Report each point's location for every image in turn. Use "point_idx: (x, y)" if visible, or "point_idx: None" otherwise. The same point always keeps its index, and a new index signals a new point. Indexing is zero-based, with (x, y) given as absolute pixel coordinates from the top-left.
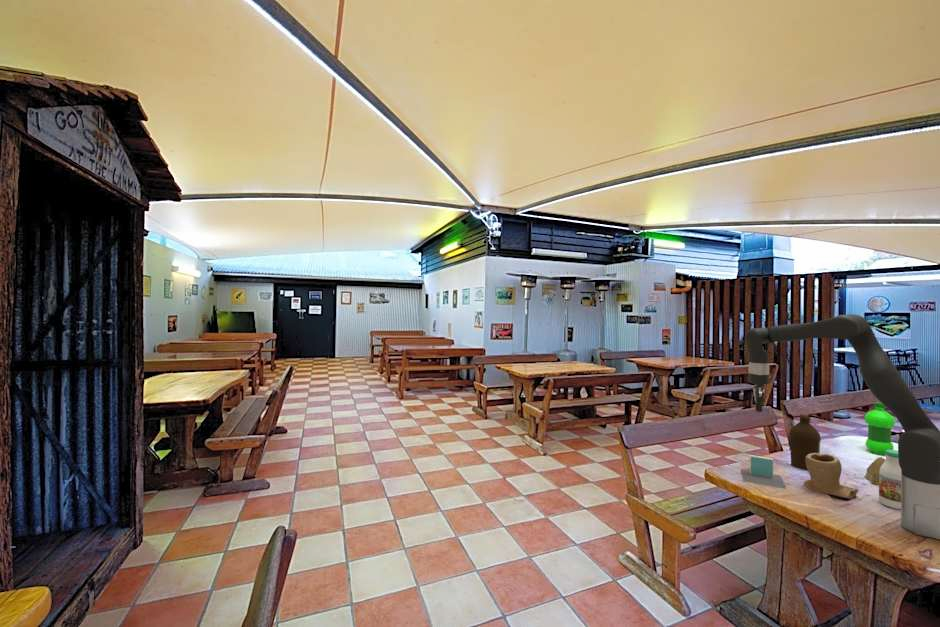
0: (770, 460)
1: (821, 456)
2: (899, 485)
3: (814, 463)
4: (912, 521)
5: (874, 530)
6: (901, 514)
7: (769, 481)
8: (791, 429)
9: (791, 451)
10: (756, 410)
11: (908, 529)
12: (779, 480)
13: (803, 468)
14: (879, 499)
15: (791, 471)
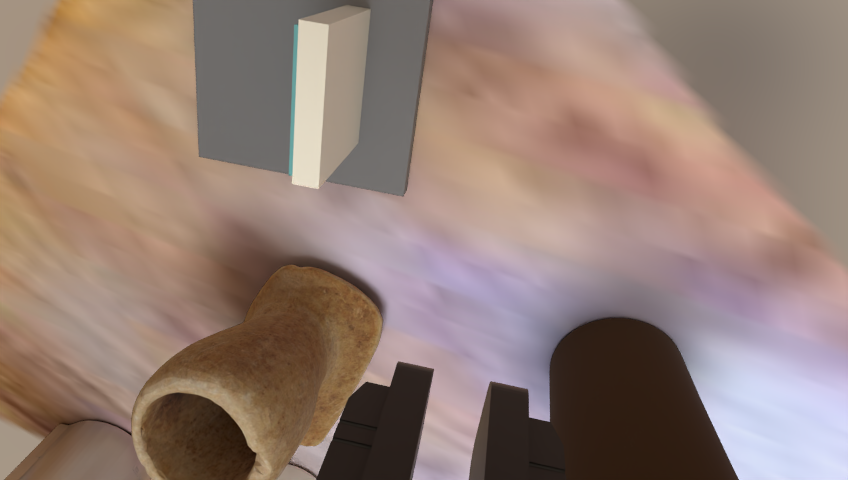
0: (290, 160)
1: (256, 458)
2: None
3: (153, 374)
4: (45, 452)
5: (9, 327)
6: (79, 452)
7: (269, 97)
8: None
9: (636, 384)
10: (395, 372)
11: (76, 423)
12: None
13: (557, 359)
14: (286, 471)
15: (553, 290)
